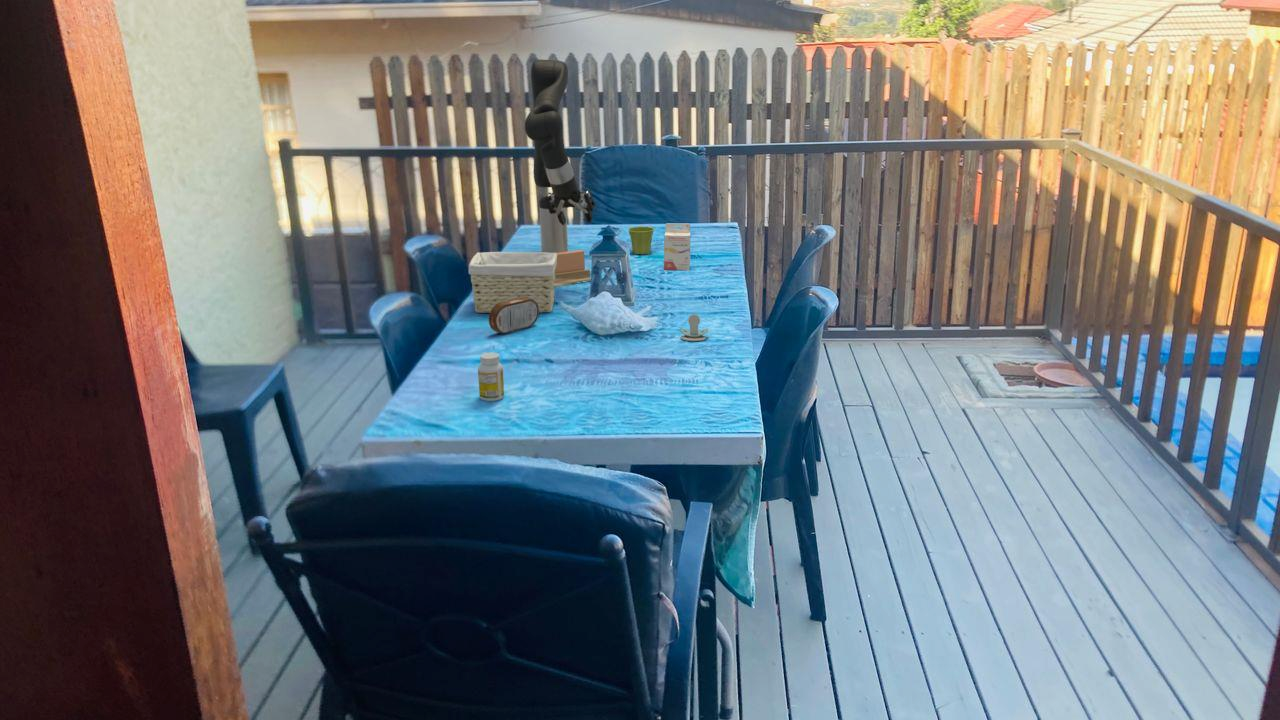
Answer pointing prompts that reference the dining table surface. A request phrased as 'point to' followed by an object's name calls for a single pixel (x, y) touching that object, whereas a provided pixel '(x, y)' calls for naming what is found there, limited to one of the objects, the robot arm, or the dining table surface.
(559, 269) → the cover plate
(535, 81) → the robot arm
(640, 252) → the plant pot
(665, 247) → the ink cartridge box
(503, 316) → the tin
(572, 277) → the holder
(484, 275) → the storage basket
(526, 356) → the dining table surface
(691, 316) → the pacifier
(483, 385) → the supplement bottle
